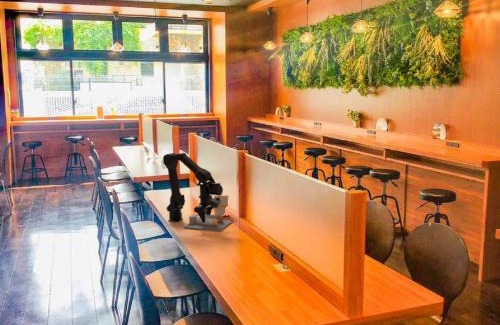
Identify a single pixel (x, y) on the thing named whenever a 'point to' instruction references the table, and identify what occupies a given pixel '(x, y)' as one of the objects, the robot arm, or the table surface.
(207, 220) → the tong leg
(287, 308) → the table surface
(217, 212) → the supplement box
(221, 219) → the tong leg
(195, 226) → the tong mat
